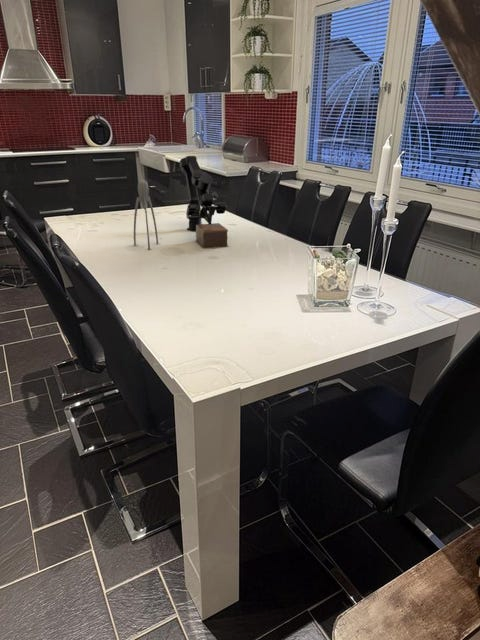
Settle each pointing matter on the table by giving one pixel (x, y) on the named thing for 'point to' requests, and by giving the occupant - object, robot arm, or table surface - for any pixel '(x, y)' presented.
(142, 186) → the grey three-legged stand fixture
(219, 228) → the door
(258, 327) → the table surface
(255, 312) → the table surface
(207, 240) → the walnut box
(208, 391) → the table surface
